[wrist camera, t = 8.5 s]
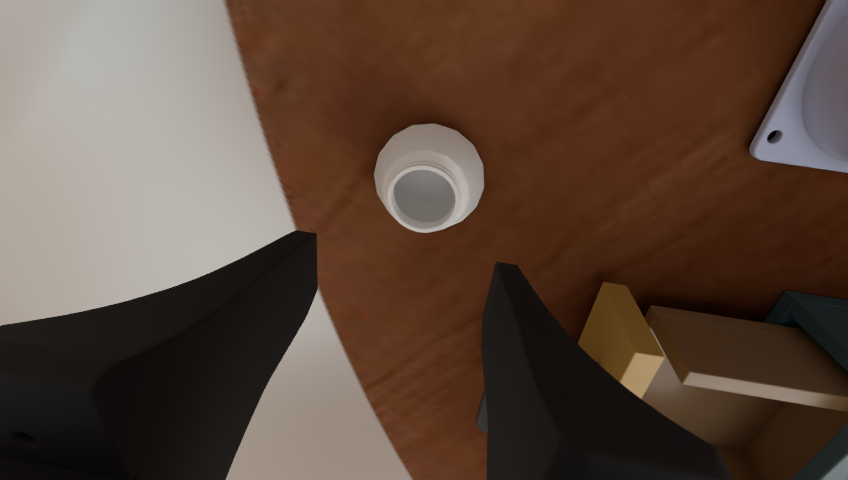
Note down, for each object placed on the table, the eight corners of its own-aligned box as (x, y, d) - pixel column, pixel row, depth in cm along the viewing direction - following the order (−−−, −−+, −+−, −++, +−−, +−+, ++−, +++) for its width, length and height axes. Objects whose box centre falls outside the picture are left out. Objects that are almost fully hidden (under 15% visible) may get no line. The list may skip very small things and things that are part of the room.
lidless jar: (370, 126, 19) (386, 224, 21) (353, 145, 16) (374, 254, 18) (481, 117, 18) (485, 219, 20) (481, 135, 15) (486, 250, 18)
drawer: (468, 402, 26) (466, 479, 22) (503, 265, 20) (510, 331, 16) (735, 448, 25) (786, 536, 21) (842, 319, 20) (939, 402, 16)
